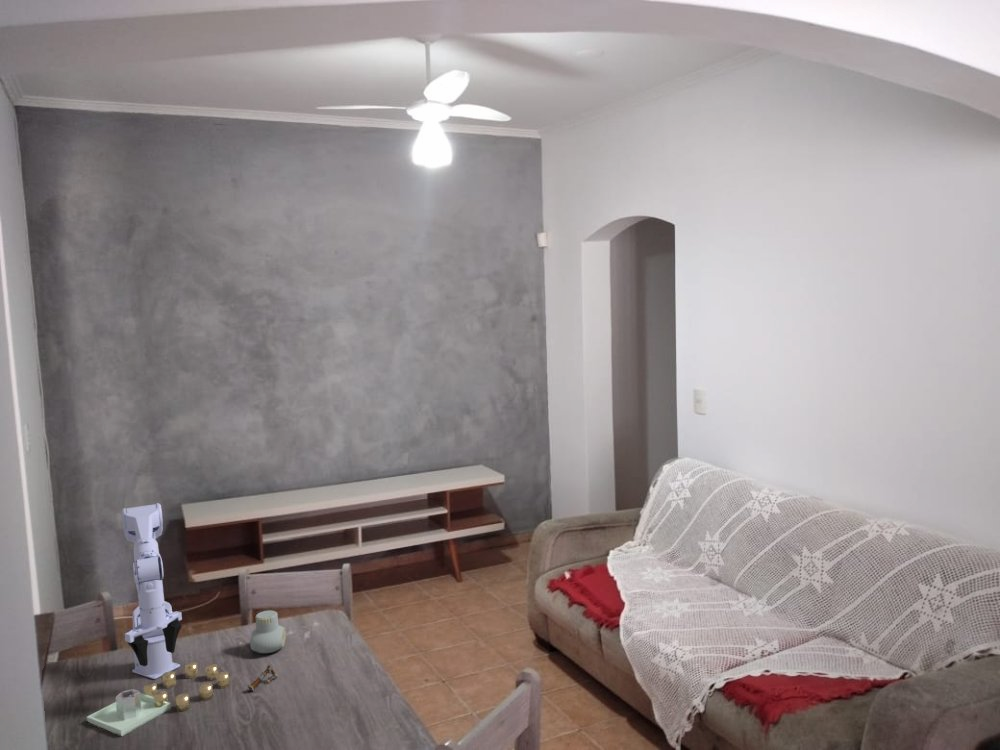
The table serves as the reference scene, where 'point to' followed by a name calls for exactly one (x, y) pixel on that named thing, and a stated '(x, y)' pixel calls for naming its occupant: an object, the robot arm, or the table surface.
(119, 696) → the steel nut
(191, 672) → the set of brass balls
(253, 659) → the table surface
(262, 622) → the air freshener
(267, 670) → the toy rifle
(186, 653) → the table surface
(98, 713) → the tray
